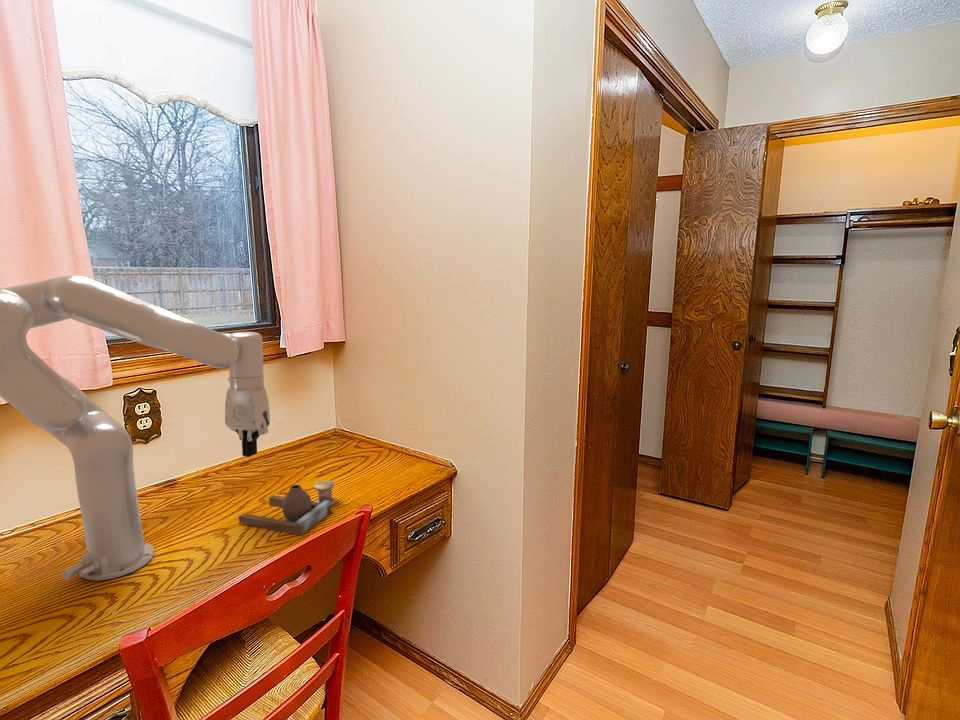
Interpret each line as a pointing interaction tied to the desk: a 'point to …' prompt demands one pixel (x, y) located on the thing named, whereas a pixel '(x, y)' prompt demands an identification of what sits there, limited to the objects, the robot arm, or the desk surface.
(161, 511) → the desk surface
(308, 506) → the vase
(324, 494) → the thread spool
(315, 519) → the channel
